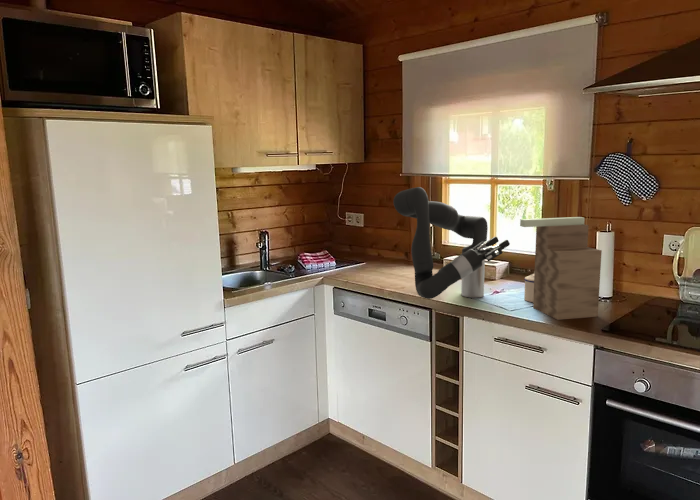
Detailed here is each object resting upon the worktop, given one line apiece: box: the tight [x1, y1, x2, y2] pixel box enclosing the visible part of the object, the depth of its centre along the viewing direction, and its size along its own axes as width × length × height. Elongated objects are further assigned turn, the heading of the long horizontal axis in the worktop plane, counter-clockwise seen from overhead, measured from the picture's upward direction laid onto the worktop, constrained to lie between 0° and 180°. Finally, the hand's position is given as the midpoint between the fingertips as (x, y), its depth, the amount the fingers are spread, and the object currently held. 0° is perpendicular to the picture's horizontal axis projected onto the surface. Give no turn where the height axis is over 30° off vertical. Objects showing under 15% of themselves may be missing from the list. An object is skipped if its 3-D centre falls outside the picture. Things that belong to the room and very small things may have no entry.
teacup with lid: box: [523, 271, 535, 303], centre depth 214 cm, size 12×9×12 cm
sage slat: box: [519, 216, 586, 228], centre depth 194 cm, size 3×24×2 cm, turn 101°
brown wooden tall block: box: [532, 224, 603, 320], centre depth 194 cm, size 16×16×32 cm
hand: (502, 240), depth 191 cm, fingers open, 8 cm apart
